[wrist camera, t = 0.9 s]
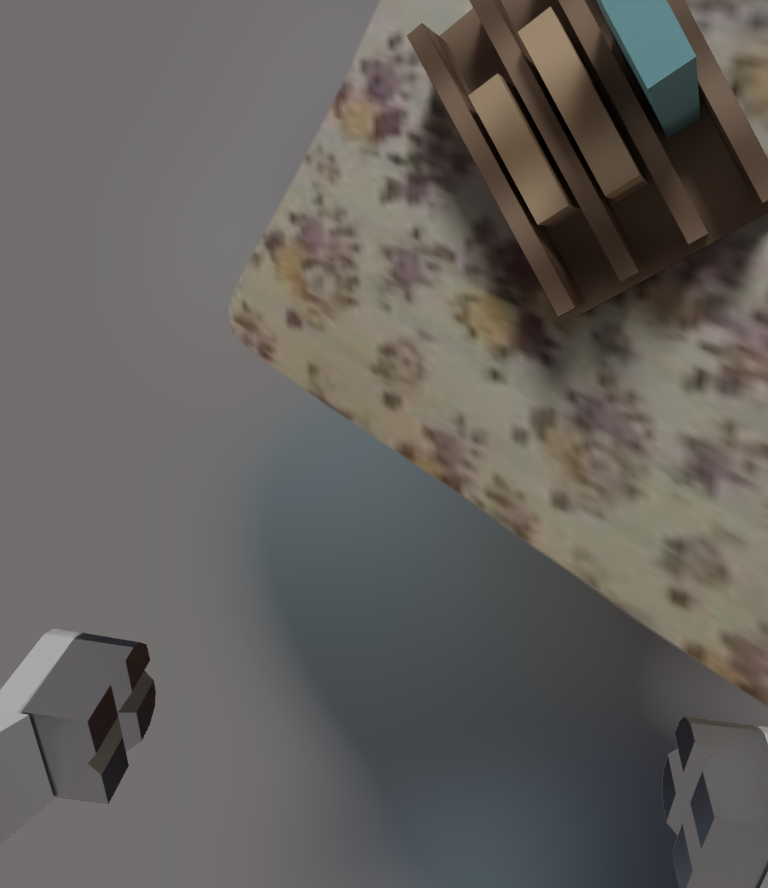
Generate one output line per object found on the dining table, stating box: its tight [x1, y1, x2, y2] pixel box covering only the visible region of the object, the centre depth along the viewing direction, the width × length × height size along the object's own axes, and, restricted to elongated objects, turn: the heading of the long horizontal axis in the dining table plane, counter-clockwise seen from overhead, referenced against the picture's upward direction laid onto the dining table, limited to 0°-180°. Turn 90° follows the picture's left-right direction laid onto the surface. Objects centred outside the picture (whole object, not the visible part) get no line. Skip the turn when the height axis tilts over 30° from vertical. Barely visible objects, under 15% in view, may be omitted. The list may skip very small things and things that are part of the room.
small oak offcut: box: [468, 73, 582, 227], centre depth 40 cm, size 8×2×4 cm, turn 32°
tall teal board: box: [596, 0, 700, 139], centre depth 32 cm, size 6×2×14 cm, turn 32°
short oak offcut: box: [518, 7, 648, 202], centre depth 38 cm, size 9×2×6 cm, turn 32°
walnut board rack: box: [407, 0, 768, 318], centre depth 39 cm, size 18×12×6 cm, turn 32°
